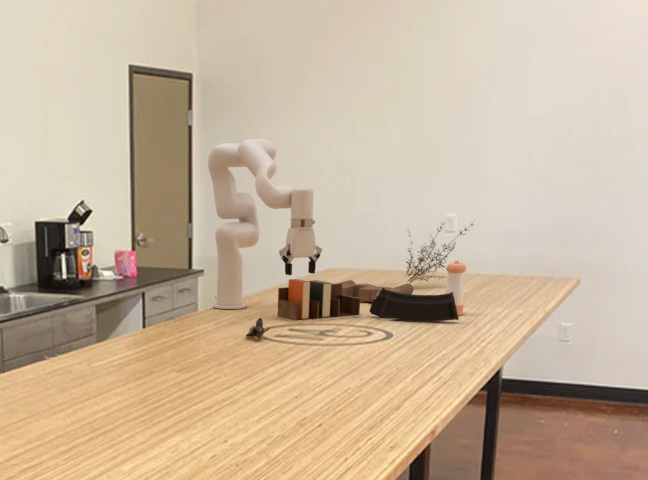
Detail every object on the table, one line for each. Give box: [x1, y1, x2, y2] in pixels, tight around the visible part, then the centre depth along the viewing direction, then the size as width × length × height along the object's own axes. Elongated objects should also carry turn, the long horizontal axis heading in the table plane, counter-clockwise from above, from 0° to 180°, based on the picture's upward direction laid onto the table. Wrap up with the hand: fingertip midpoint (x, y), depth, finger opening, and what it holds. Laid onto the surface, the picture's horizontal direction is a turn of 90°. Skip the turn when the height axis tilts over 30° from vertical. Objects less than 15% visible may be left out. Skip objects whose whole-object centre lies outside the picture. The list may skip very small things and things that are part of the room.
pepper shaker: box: [444, 260, 467, 316], centre depth 387 cm, size 7×7×19 cm
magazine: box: [369, 288, 460, 323], centre depth 373 cm, size 17×3×30 cm
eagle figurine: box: [245, 317, 271, 342], centre depth 341 cm, size 8×7×9 cm
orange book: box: [288, 278, 311, 319], centre depth 378 cm, size 9×3×13 cm, turn 26°
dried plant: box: [404, 220, 475, 284], centre depth 466 cm, size 30×31×45 cm
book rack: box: [277, 282, 361, 322], centre depth 382 cm, size 12×27×11 cm, turn 116°
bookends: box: [336, 279, 414, 303], centre depth 432 cm, size 35×6×29 cm
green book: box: [309, 279, 332, 317], centre depth 381 cm, size 9×4×12 cm, turn 26°
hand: (300, 274), depth 375 cm, fingers open, 9 cm apart
